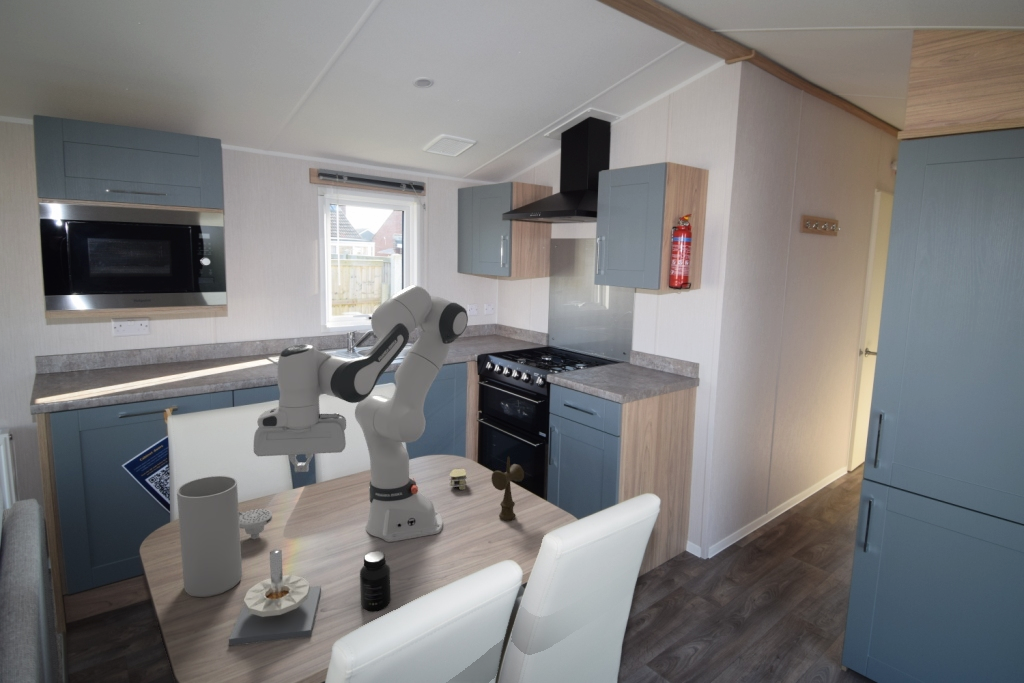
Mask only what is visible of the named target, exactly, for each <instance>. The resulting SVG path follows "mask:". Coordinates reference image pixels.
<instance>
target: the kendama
mask: <svg viewBox="0 0 1024 683" xmlns="http://www.w3.org/2000/svg"><path fill="white" fill-rule="evenodd" d="M510 459H511V458H510V456H508V457H507V461H506V472H502V471H501V470H495V471H493V472H492V474H491V483H492V485H493V487H494V488H495V489H497V491H504V493H503V498H502V501H501V502H500V504H499V505H500V507H501V510H500V511H501V512H500V513H499V515H498V517H499V519H501V520H503V521H513V520H515V518H516V513H515V512H514V507H515V505H516V502H515V501H514V500H513V497H512V488H511V486H512V485H511V481H515V482H522V481H523V479H524V477H525V473H524V469H523V467H522V466H521V465H520V464H516V463H513V464H511V462H510V461H511V460H510Z"/></svg>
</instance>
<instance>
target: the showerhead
mask: <svg viewBox="0 0 1024 683" xmlns="http://www.w3.org/2000/svg"><path fill="white" fill-rule="evenodd" d="M271 521H273V512H272V511H271V510H269V509H265V508H256V509H251V510H250V509H249V510H246V511H244V512H242V511H240V510H239V526H240V529H243V530H244V532H245V534H247V535H249V536H250V539H252V540H256V539H258V538H260V533H262V532H264V529H265V525H268V524H269V523H270V522H271Z"/></svg>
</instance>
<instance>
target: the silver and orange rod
mask: <svg viewBox="0 0 1024 683" xmlns="http://www.w3.org/2000/svg"><path fill="white" fill-rule="evenodd" d="M282 554H283V553H282V550H281V548H280V549H278V548H276V549H273V550H270V551H269V566H270V568H269V570H270V578H271V591H272V593H270V594H269V595H268V596H266V598H269V599H279V598H282V597H284V596H286V595H287V594H288V593H289V592H288V591H285V590H283V576H284V574H283V555H282Z"/></svg>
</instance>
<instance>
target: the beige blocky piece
mask: <svg viewBox="0 0 1024 683" xmlns="http://www.w3.org/2000/svg"><path fill="white" fill-rule="evenodd" d="M466 480H467V471H466V470H465V469H464V468H454V469H452V470H451V472H450V473H449V481H450V482H449V484H448V485H449V487H454V488H455V487H456V488H457V487H458V488H459V489H458V490H461V489H462V490H465V489H466V485H467V481H466Z"/></svg>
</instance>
